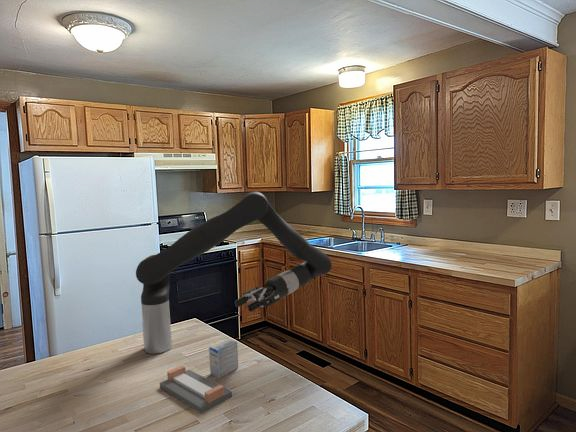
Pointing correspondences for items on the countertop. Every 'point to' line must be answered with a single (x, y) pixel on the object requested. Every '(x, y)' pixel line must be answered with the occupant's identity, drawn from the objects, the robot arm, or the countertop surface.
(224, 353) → the medicine box
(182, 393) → the rail panel
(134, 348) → the countertop surface
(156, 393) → the countertop surface
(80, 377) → the countertop surface
